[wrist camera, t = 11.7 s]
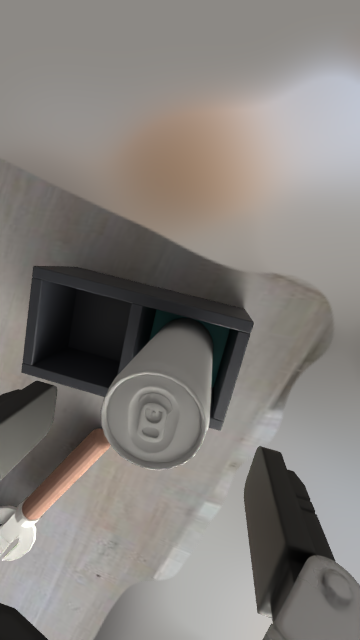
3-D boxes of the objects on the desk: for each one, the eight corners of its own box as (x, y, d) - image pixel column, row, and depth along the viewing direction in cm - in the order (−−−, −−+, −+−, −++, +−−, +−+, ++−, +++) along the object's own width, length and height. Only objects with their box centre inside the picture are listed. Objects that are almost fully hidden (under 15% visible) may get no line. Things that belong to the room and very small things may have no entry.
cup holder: (76, 266, 24) (32, 265, 18) (244, 308, 23) (254, 322, 17) (64, 349, 26) (20, 372, 20) (220, 393, 24) (221, 431, 19)
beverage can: (218, 322, 22) (220, 382, 10) (207, 376, 23) (197, 485, 11) (162, 311, 23) (103, 356, 11) (153, 364, 24) (91, 457, 12)
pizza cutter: (88, 405, 27) (73, 421, 24) (132, 445, 27) (122, 465, 24) (-18, 519, 31) (-42, 545, 28) (21, 553, 31) (1, 582, 28)
